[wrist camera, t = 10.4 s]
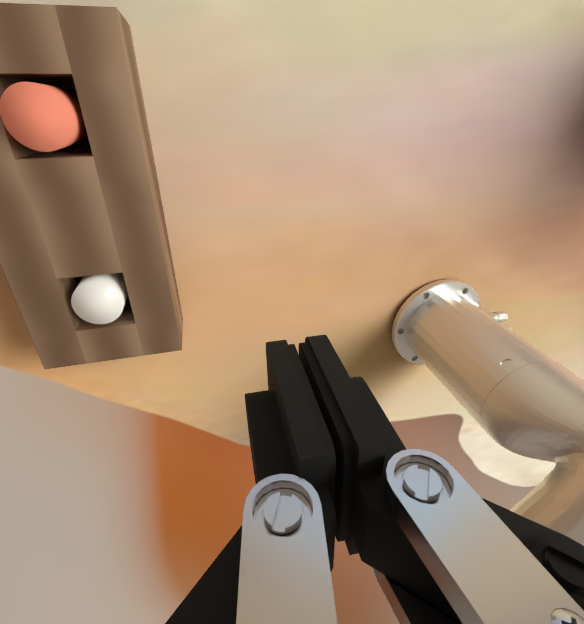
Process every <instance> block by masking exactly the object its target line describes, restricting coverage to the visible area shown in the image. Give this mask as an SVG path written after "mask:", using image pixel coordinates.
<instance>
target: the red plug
mask: <svg viewBox="0 0 584 624" xmlns="http://www.w3.org/2000/svg"><path fill="white" fill-rule="evenodd" d="M0 115H1V119H2V121H3V124H4V125H5V127H6V129H7V130H8V132H9V133H10V134H11V135H12V136H13V137H14V138H15V139H16V140H17V141H18V142H20V143H21V144H23V145H24V146H26V147H28V148H30V149H33V150H36V151H41V152H50V151H55V150H58V149H61V148H64V147H68V146H71V145H74V144H77V143H80V142H81V141H83V140H84V139H85V138H86V137H87V131H86V127H85V123H84V119H83V115H82V111H81V107H80V103H79V99H78V96H77V95H76V94H74V93H73V92H71V91H70V90H68V89H65V88H62V87H58V86H52V85H46V84H40V83H33V82H18V83H15V84H12V85H11V86H9V87H8V88H7V89H6V90H5V91H4V92H3V94H2V96H1V99H0Z"/></svg>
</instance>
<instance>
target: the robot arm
mask: <svg viewBox="0 0 584 624" xmlns="http://www.w3.org/2000/svg"><path fill="white" fill-rule="evenodd" d="M506 320H507V314H506V312H505V311H498V312H493V313H491V312H489V311H488V310H486V309H485V308H483V307H482V306H481V301H480V298H479V295H478V294H477V292H476V291H475V290H474V289H473V288H472V287H471V286H469V285H467V284H466V283H464V282H462V281H459V280H454V279H444V280H438V281H435V282H432V283H429V284H427V285H425V286H423V287H422V288H420V289H419V290H417V291H416V292H414V293H413V294H412V295H411V296H410V297H409V298H408V299H407V300H406V301H405V302H404V304H403V305H402V306H401V308H400V309H399V311H398V313H397V314H396V317H395V319H394V322H393V327H392V341H393V345H394V347H395V348H396V350H397V351H398V353H399V354H400V355H401V356H402V357H403V358H404V359H406V360H407V361H409V362H411V363H415V364H425V365H426V366H427V367H428V368H429V370H430V371H431V372H432V373H433V374H434V375H435V376H436V377H437V378H438V379H439V381H440V382H441V383H442V384H443V385H444V386H445V387H446V388H447V389H448V390H449V391H450V393H451V394H452V395H453V396H454V397H455V398H456V399H457V400H458V401H459V402H460V404H461V405H462V406H463V407H464V408H465V409H466V410H467V411H468V412H469V413H470V414H471V416H472V417H473V418H474V419H475V420H476V421H477V422H478V423H479V424H480V425H481V427H482V428H483V429H484V430H485V431H486V432H487V433H488V434H489V435H490V436H491V437H492V438H493V439H494V440H495V441H496V442H497V443H498V444H500V445H501V446H502V447H504V448H506V449H507V450H509V451H511V452H513V453H516V454H519V455H522V456H525V457H529V458H534V459H539V460H545V461H550V462H556V466H555V468H554V469H553V470H552V471H551V472H550V473H549V474H548V475H547V476H546V477H545V479H544V480H543V481H542V482H541V483H540V484H539V485H538V486H537V487H535V489H533V490H532V491H531V492H530V493H529V494H528V495H526V496H525V497H524V498H523V499H522V500H521V501H520V502H518V503H517V504H516V505H515V506H514V507H513V508H512V509H510V510H507V509H505V508H503V507H501V506H498V505H496V504H494V503H492V502H490V501H487V500H485V499H483V498H481V497H480V496H479V495H478V494H477V493H476V492H475V491H474V490H473V489H472V487H471V486H470V485H469V484H468V483H467V482H466V481H465V480H464V478H463V477H462V476H461V475H460V474H459V473H458V472H457V471H456V470H455V469H454V467H452V466H451V465H450V464H449V463H448V462H447V461H446V460H445V459H443V458H441V457H440V456H438V455H436V454H434V453H431V452H428V451H425V450H420V449H408V450H406V448H405V446H404V445H403V443H402V441H401V440H400V438H399V437H398V435H397V433H396V431H395V430H394V428H393V427H392V425H391V423H390V422H389V420H388V418H387V417H386V415H385V413H384V412H383V410H382V408H381V407H380V405H379V403H378V402H377V400H376V399H375V397H374V395H373V394H372V392H371V390H370V389H369V387H368V385H367V384H366V382H365V381H364V379H363V378H362V377H353V378H350V377H349V375H348V373H347V371H346V370H345V368H344V366H343V364H342V362H341V361H340V359H339V357H338V355H337V353H336V352H335V350H334V348H333V346H332V344H331V343H330V341H329V339H328V337H327V336H326V335H319V336H312V337H306V339H305V343H299V355H298V352H297V350H296V347H295V345H294V344H290V345H288V344H287V341H286V340H280V341H273V342H266V357H267V373H268V388H269V390H267V391H261V392H254V393H248V394H245V402H246V412H247V421H248V430H249V438H250V445H251V452H252V460H253V467H254V474H255V482H256V485H255V486H254V487H253V488H252V489H251V491H250V492H249V494H248V496H247V497H246V500H245V505H244V510H243V524H242V526H241V527H240V529H239V530H238V531H237V533H236V534H235V535H234V536H233V538H232V539H231V540H230V541H229V543H228V544H227V545H226V547H225V548H224V549H223V550H222V552H221V553H220V554H219V555H218V557H217V558H216V559H215V561H214V562H213V563H212V564H211V566H210V567H209V568H208V570H207V571H206V572H205V573H204V575H203V576H202V577H201V579H200V580H199V581H198V582H197V584H196V585H195V586H194V588H193V589H192V590H191V591H190V593H189V594H188V595H187V597H186V598H185V599H184V600H183V602H182V603H181V604H180V605H179V607H178V608H177V609H176V611H175V612H174V613H173V615H172V616H171V617H170V618H169V619H168V621H167V622H166V623H165V624H337V616H336V609H335V602H334V594H333V587H332V580H331V571H332V569H333V559H334V543H335V536H336V539H337V541H338V542H339V541H344V540H345V543H346V546H347V549H348V551H349V555H352V554H356V553H359V554H360V557H361V560H362V561H363V562H365V563H366V564H368V565H369V566H371V567H373V569H374V573H375V576H376V578H377V581H378V583H379V585H380V586H381V588H382V590H383V593H384V594H385V596H386V598H387V600H388V602H389V604H390V606H391V608H392V610H393V612H394V614H395V616H396V618H397V619H398V621H399V623H400V624H584V380H583V379H581V378H580V377H578V376H577V375H575V374H574V373H573V372H571V371H570V370H568V369H567V368H565V367H564V366H562V365H561V364H559V363H558V362H556V361H555V360H554V359H552V358H551V357H549V356H548V355H546V354H545V353H543V352H542V351H541V350H539V349H538V348H536V347H535V346H533V345H532V344H530V343H529V342H528V341H526V340H525V339H523V338H522V337H520V336H519V335H517V334H516V333H515V332H513V331H512V330H511V328H510V327H509V326H508V325H506V324H502V323H500V322H503V321H506Z"/></svg>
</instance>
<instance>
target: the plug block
mask: <svg viewBox="0 0 584 624" xmlns="http://www.w3.org/2000/svg"><path fill="white" fill-rule="evenodd" d="M22 80H74V84H75V88H76V91H77V95H78V99H79V103H80V107H81V111H82V115H83V119H84V123H85V127H86V131H87V135H88V139H89V142H90V146H91V149H82V150H55V151H50V152H41V151H36V150H33V149H30V148H28V147H26V146H24V145H23V144H21V143H20V142H18V141H17V140H16V139H15V138H14V137H13V136H12V135H11V134H10V133H9V132H8V130H7V129H6V127H5V125H4V124H3V121H2V119H1V115H0V265H1V267H2V270H3V272H4V275H5V277H6V279H7V282H8V284H9V286H10V289H11V291H12V293H13V296H14V298H15V300H16V303H17V305H18V308H19V310H20V312H21V315H22V317H23V319H24V322H25V324H26V326H27V329H28V331H29V333H30V336H31V338H32V340H33V343H34V345H35V348H36V350H37V352H38V355H39V357H40V359H41V362H42V364H43V366H44V369H50V368H57V367H64V366H71V365H78V364H86V363H93V362H100V361H107V360H114V359H121V358H128V357H136V356H143V355H150V354H157V353H164V352H171V351H178V350H182V329H183V318H182V312H181V307H180V301H179V296H178V290H177V285H176V279H175V274H174V268H173V262H172V257H171V251H170V246H169V240H168V235H167V229H166V224H165V218H164V213H163V207H162V202H161V196H160V191H159V185H158V179H157V174H156V168H155V163H154V157H153V152H152V146H151V141H150V135H149V130H148V124H147V119H146V113H145V108H144V102H143V97H142V91H141V85H140V80H139V74H138V69H137V63H136V58H135V52H134V47H133V41H132V36H131V30H130V25H129V24H128V23H127V21H126V20H125V19H124V17H123V16H122V15H121V13H120V12H119V11H118V9H117V8H116V7H94V6H68V5H41V4H15V3H0V99H1V96H2V94H3V92H4V91H5V90H6V89H7V88H8V87H9V86H11V85H12V84H15V83H18V82H23V81H22ZM122 272H123V276H124V280H125V284H126V288H127V292H128V296H129V297H127V299H126V302H125V305H124V308H123V311H122V313H121V315H120V316H119V317H118V318H117V319H116V320H114V321H113V322H110V323H107V324H93V323H90V322H87V321H85V320H83V319H81V318H80V317H79V316H78V315H77V314H76V313H75V311H74V310H73V308H72V304H71V298H72V295H73V293H74V291H75V289H76V288H77V286H78V285H79V283H80V282H81V280H82V278H83V277H84V276H91V275H101V274H112V273H122Z"/></svg>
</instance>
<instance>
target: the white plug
mask: <svg viewBox="0 0 584 624" xmlns="http://www.w3.org/2000/svg"><path fill="white" fill-rule="evenodd" d="M127 296H128V292H127V288H126V284H125V280H124V276H123V272H122V273H112V274H101V275H91V276H84V277H83V278H82V280H81V282H80V283H79V285H78V286H77V288H76V289H75V291H74V293H73V295H72V298H71V304H72V308H73V310H74V311H75V313H76V314H77V315H78V316H79V317H80V318H81V319H83V320H85V321H87V322H90V323H93V324H107V323H110V322H113V321H114V320H116V319H117V318H118V317H119V316H120V315H121V313H122V311H123V308H124V305H125V302H126V299H127Z"/></svg>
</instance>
